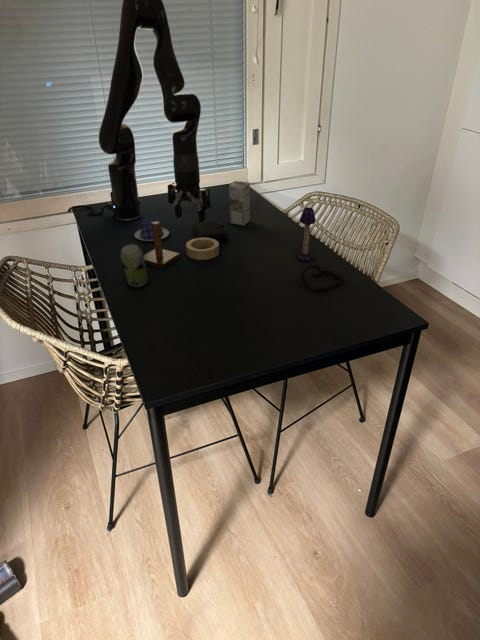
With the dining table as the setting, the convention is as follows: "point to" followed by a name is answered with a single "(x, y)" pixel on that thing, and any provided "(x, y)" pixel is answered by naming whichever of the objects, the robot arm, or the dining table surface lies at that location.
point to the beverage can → (134, 265)
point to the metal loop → (319, 275)
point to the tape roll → (202, 253)
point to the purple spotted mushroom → (306, 232)
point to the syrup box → (239, 202)
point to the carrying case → (210, 230)
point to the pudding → (149, 231)
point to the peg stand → (159, 251)
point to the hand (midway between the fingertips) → (190, 218)
